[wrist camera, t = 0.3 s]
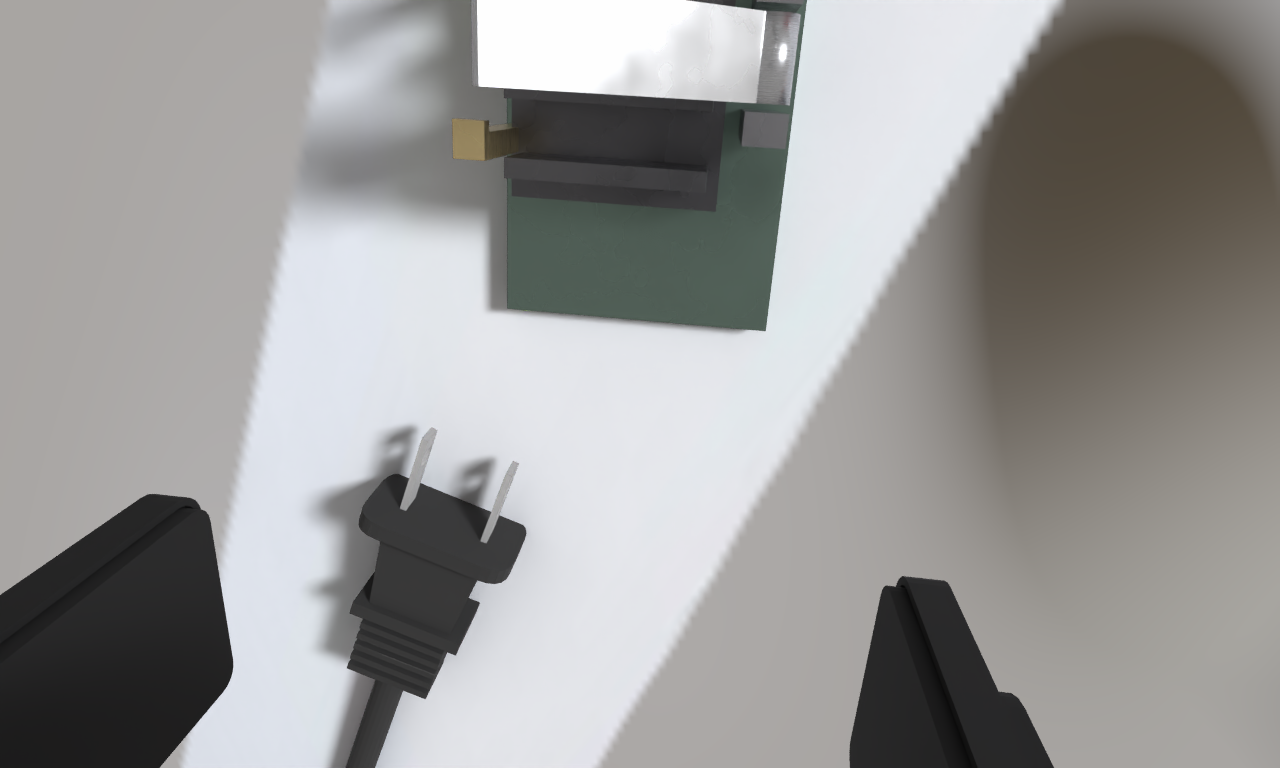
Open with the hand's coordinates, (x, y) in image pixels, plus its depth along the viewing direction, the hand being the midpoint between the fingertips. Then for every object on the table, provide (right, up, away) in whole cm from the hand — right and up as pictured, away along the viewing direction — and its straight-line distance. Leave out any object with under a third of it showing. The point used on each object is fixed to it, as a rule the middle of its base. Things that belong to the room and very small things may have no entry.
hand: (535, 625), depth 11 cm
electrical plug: (-15, -17, +40) cm, 46 cm away
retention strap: (+1, +15, +15) cm, 21 cm away
